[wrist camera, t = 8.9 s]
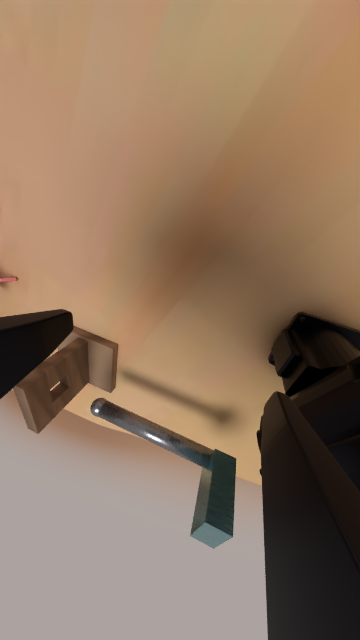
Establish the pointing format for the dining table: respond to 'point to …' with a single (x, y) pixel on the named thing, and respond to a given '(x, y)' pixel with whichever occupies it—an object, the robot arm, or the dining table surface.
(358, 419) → the robot arm
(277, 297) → the dining table surface
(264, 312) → the dining table surface
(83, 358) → the eye block
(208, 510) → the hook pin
